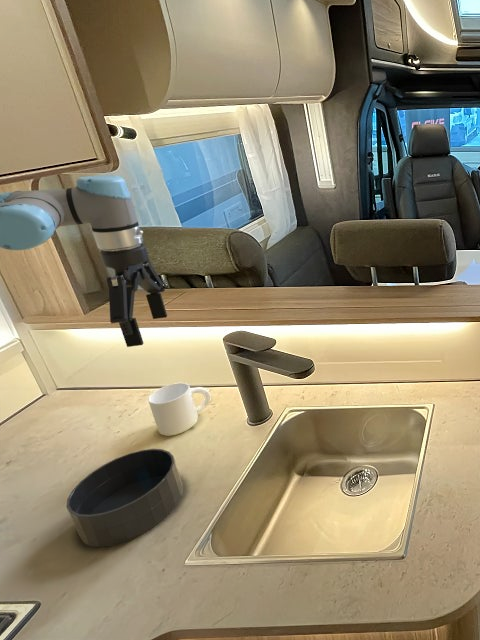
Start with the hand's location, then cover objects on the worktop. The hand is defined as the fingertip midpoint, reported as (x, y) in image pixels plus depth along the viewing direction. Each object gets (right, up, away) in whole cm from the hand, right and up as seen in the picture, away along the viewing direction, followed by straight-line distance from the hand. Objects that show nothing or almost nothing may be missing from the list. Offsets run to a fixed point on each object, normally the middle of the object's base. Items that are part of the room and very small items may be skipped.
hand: (148, 330), depth 98 cm
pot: (+8, -35, -13) cm, 38 cm away
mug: (+1, -26, +11) cm, 29 cm away
